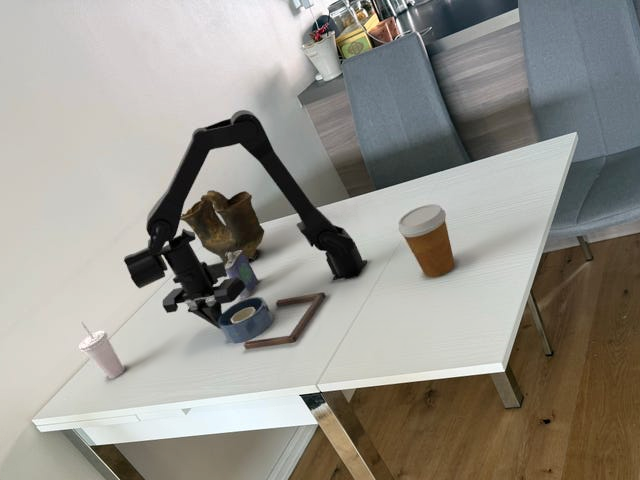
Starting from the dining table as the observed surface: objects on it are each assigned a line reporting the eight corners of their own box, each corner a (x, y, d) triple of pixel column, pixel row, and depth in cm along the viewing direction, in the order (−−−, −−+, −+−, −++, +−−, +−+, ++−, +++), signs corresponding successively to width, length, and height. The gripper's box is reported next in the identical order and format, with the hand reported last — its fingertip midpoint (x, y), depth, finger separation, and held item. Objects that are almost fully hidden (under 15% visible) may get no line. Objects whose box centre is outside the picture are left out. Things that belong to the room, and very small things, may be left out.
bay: (326, 297, 145) (323, 291, 144) (295, 344, 133) (292, 338, 132) (280, 305, 151) (277, 300, 150) (246, 351, 139) (243, 345, 138)
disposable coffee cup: (410, 285, 135) (388, 231, 129) (425, 259, 142) (405, 208, 136) (454, 278, 131) (434, 223, 124) (468, 253, 137) (449, 199, 131)
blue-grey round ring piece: (282, 312, 148) (272, 293, 145) (260, 341, 140) (249, 322, 137) (243, 318, 152) (233, 300, 150) (220, 347, 145) (209, 329, 142)
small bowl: (266, 318, 147) (259, 305, 145) (254, 333, 143) (247, 320, 141) (246, 321, 149) (238, 309, 147) (234, 336, 145) (226, 323, 143)
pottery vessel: (288, 246, 179) (253, 176, 169) (262, 269, 173) (224, 198, 163) (227, 250, 195) (192, 187, 185) (201, 271, 189) (164, 207, 179)
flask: (249, 299, 160) (227, 260, 155) (238, 302, 161) (216, 263, 156) (261, 280, 167) (240, 241, 162) (250, 283, 168) (229, 245, 163)
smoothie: (113, 383, 150) (76, 332, 143) (98, 381, 154) (60, 331, 147) (134, 364, 154) (99, 314, 147) (119, 363, 158) (83, 314, 151)
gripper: (240, 239, 142) (272, 301, 150) (173, 253, 151) (207, 312, 159) (213, 267, 134) (249, 331, 142) (144, 280, 143) (182, 340, 151)
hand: (221, 327), depth 149 cm, fingers closed
